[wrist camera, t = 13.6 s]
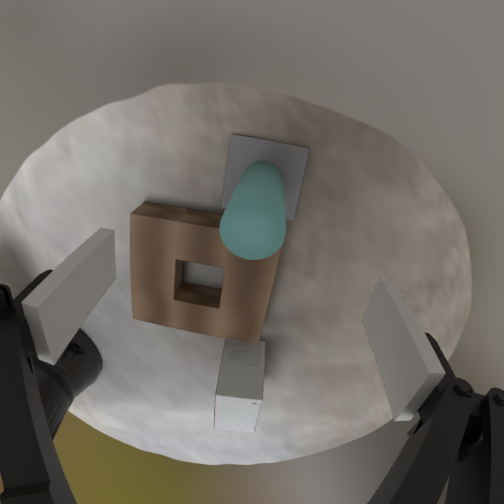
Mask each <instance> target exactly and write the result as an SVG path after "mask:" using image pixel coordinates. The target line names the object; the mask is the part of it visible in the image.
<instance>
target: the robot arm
mask: <svg viewBox="0 0 504 504" xmlns="http://www.w3.org/2000/svg"><path fill="white" fill-rule="evenodd" d="M115 279H116V268H115V236H114V230H111V229H105V228H100V229H99V230H98V231H97V232H96V233H94V234H93V235H92V236H91V237H90V238H89V239H87V240H86V241H85V242H84V243H83V244H82V245H81V246H80V247H78V248H77V249H76V250H75V251H74V252H73V253H72V254H71V255H70V256H69V257H67V258H66V259H65V260H64V261H63V262H62V263H61V264H60V265H59V266H58V267H57V268H56V269H55V270H50V269H49V270H47V271H45V272H43V273H41V274H40V275H38V276H37V277H36V278H35V279H34V280H33V282H31V283H30V284H29V285H28V287H26V288H25V289H24V290H23V291H22V292H21V293H20V294H19V295H18V296H17V297H16V298H15V299H14V300H13V298H12V294H11V291H10V288H9V287H8V286H7V285H3V284H0V473H1V477H2V481H3V486H4V491H3V492H2V493H1V494H0V501H1V504H77V503H76V501H75V499H74V496H73V494H72V492H71V489H70V487H69V484H68V482H67V480H66V477H65V474H64V472H63V469H62V467H61V464H60V461H59V458H58V455H57V453H56V450H55V447H54V444H53V439H54V437H55V435H56V433H57V431H58V429H59V427H60V425H61V423H62V421H63V419H64V417H65V415H66V413H67V411H68V409H69V407H70V405H71V403H72V402H73V400H74V398H75V397H76V396H78V395H79V394H80V393H81V392H83V391H84V390H85V389H86V388H87V387H88V386H90V385H91V384H92V383H94V381H95V380H96V379H97V377H98V375H99V373H100V371H101V369H102V361H101V357H100V354H99V352H98V350H97V349H96V347H95V345H94V344H93V343H92V341H91V340H90V339H89V338H88V337H87V336H86V335H85V334H84V333H83V332H82V331H81V330H80V329H79V328H80V327H81V325H82V324H83V322H84V321H85V320H86V318H87V317H88V315H89V314H90V313H91V311H92V310H93V308H94V307H95V306H96V304H97V303H98V302H99V300H100V299H101V298H102V296H103V295H104V294H105V292H106V291H107V290H108V288H109V287H110V286H111V284H112V283H113V282H114V280H115ZM362 323H363V326H364V328H365V331H366V334H367V337H368V340H369V343H370V345H371V348H372V351H373V354H374V357H375V360H376V363H377V366H378V369H379V372H380V375H381V378H382V381H383V385H384V388H385V391H386V394H387V397H388V401H389V404H390V407H391V411H392V414H393V417H394V421H406V420H411V419H412V418H413V416H414V415H415V414H416V413H417V411H418V412H419V415H420V419H419V421H418V422H417V423H416V424H415V425H414V426H413V428H412V429H411V430H410V431H409V432H408V433H407V434H408V435H410V436H409V438H408V440H407V442H406V443H405V445H404V447H403V449H402V450H401V452H400V454H399V456H398V457H397V459H396V461H395V463H394V464H393V466H392V467H391V469H390V470H389V472H388V474H387V475H386V477H385V478H384V480H383V481H382V483H381V484H380V486H379V488H378V489H377V490H376V492H375V494H374V495H373V496H372V498H371V499H370V501H369V502H368V503H367V504H437V502H438V500H439V498H440V495H441V493H442V491H443V489H444V486H445V484H446V482H447V479H448V477H449V482H448V489H447V495H446V500H445V504H504V391H503V390H501V389H499V388H491V389H490V391H489V392H488V393H487V394H486V395H485V396H484V395H480V394H477V393H474V390H473V388H472V387H471V385H470V384H469V383H468V382H466V381H465V380H463V379H461V378H456V377H455V375H454V373H453V371H452V369H451V367H450V365H449V364H448V362H447V360H446V358H445V357H444V354H443V352H442V351H441V350H440V347H439V345H438V343H437V342H436V340H435V339H434V338H433V337H432V336H431V335H430V334H429V333H424V331H423V329H422V327H421V326H420V324H419V322H418V320H417V319H416V317H415V315H414V313H413V312H412V310H411V308H410V306H409V305H408V303H407V301H406V299H405V298H404V296H403V294H402V293H401V291H400V289H399V288H398V286H397V284H396V283H395V281H394V280H393V278H388V277H382V276H379V279H378V282H377V284H376V287H375V289H374V292H373V294H372V297H371V299H370V301H369V304H368V306H367V309H366V311H365V313H364V316H363V318H362ZM449 474H450V475H449Z"/></svg>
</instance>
